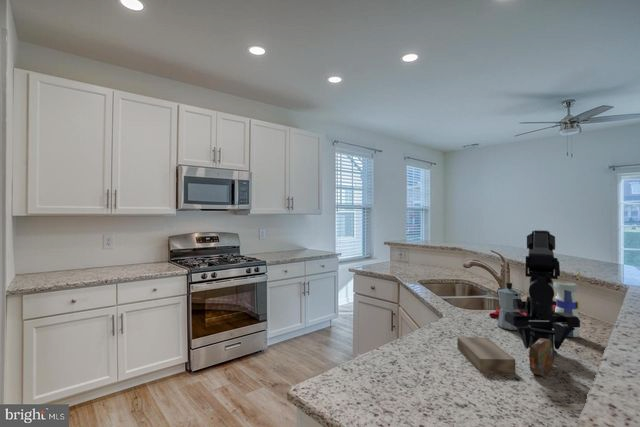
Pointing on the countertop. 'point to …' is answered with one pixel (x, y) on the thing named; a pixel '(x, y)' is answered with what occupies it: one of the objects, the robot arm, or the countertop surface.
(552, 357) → the tin
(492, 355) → the walnut plinth
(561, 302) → the water bottle
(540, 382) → the countertop surface
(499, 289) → the coffee maker
